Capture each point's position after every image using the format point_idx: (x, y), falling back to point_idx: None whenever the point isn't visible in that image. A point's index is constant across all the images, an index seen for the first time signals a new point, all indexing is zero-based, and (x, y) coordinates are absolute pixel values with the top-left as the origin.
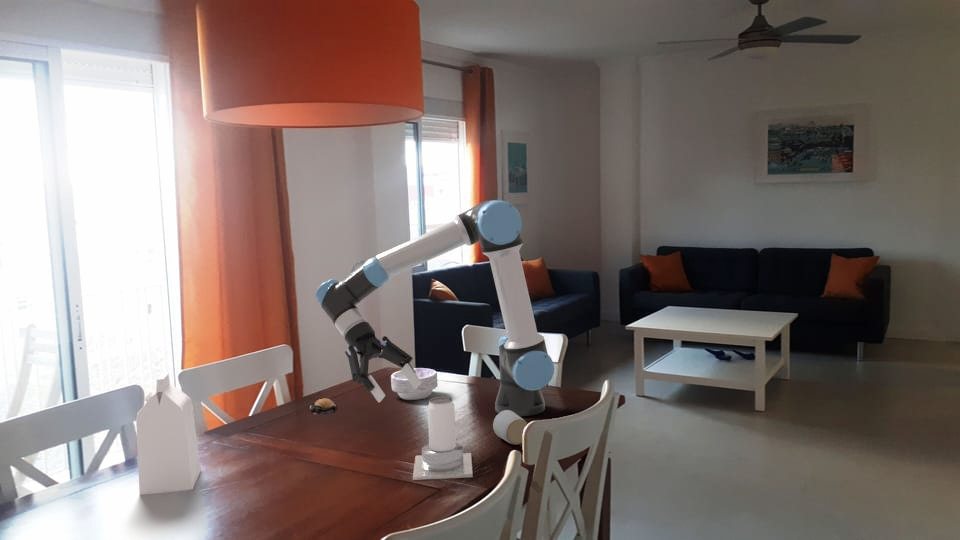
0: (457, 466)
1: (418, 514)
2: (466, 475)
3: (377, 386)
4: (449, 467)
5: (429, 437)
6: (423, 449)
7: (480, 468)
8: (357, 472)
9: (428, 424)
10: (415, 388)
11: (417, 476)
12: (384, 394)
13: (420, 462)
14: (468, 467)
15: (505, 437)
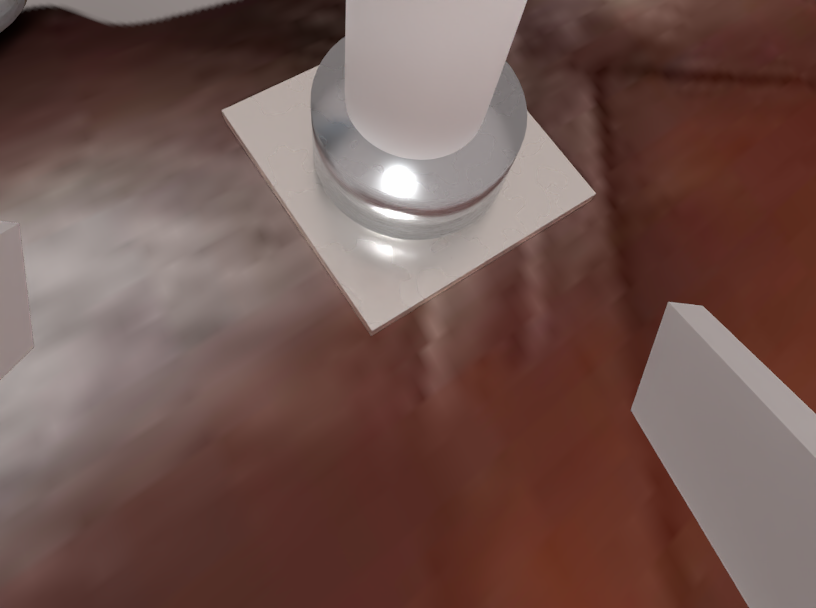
0: None
1: (791, 38)
2: None
3: (767, 382)
4: None
5: (488, 98)
6: (480, 177)
7: (343, 29)
8: (670, 495)
9: (500, 50)
10: (31, 335)
11: (581, 178)
12: (678, 310)
13: (441, 255)
14: None
15: (17, 2)
